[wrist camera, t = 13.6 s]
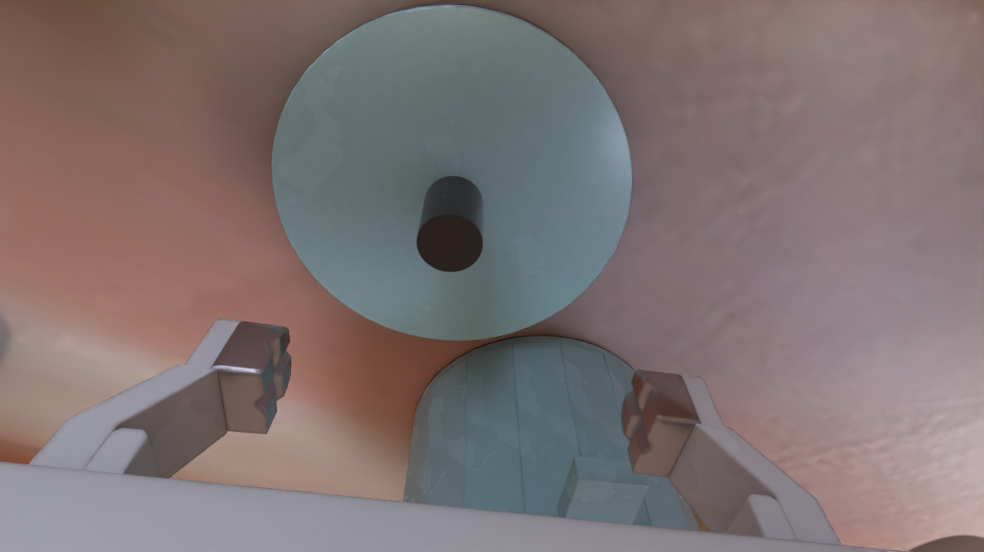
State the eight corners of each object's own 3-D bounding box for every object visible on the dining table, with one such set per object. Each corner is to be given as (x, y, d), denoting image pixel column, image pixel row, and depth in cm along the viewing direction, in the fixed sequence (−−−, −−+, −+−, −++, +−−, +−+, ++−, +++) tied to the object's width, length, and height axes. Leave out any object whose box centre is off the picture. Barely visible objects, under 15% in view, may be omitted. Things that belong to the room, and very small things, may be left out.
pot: (703, 308, 28) (823, 518, 18) (605, 534, 38) (648, 746, 28) (429, 277, 26) (399, 485, 17) (404, 518, 37) (376, 735, 27)
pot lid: (671, 32, 21) (715, 59, 17) (584, 338, 29) (600, 406, 25) (265, -27, 20) (210, -13, 16) (290, 311, 27) (258, 377, 23)
